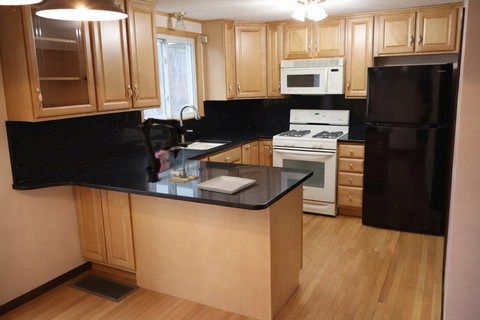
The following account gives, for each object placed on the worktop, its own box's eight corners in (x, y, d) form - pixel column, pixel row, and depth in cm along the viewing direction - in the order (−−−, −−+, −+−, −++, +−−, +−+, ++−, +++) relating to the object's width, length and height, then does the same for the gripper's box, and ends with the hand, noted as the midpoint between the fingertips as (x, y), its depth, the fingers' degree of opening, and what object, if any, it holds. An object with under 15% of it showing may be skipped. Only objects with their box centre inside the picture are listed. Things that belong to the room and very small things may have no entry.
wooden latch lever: (188, 176, 272) (188, 172, 271) (183, 178, 268) (183, 173, 267) (173, 175, 279) (173, 170, 278) (168, 176, 275) (168, 172, 274)
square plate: (195, 190, 245) (195, 184, 244) (222, 180, 267) (221, 174, 266) (231, 196, 230) (231, 190, 229) (256, 185, 252) (256, 179, 251)
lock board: (184, 183, 262) (184, 180, 261) (168, 181, 269) (167, 178, 269) (198, 178, 274) (198, 175, 274) (182, 176, 282) (182, 174, 281)
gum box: (161, 166, 318) (160, 149, 316) (171, 166, 317) (169, 149, 314) (149, 173, 295) (148, 155, 293) (159, 173, 294) (158, 155, 291)
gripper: (179, 134, 291) (181, 155, 295) (156, 137, 280) (158, 159, 283) (187, 135, 283) (188, 157, 286) (163, 138, 272) (165, 161, 275)
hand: (175, 158), depth 283 cm, fingers closed
